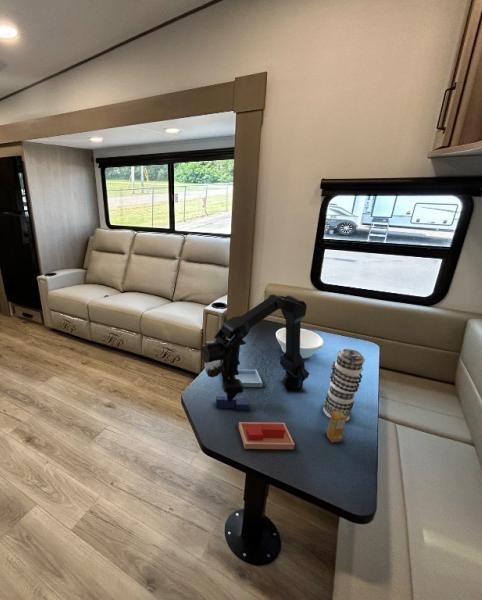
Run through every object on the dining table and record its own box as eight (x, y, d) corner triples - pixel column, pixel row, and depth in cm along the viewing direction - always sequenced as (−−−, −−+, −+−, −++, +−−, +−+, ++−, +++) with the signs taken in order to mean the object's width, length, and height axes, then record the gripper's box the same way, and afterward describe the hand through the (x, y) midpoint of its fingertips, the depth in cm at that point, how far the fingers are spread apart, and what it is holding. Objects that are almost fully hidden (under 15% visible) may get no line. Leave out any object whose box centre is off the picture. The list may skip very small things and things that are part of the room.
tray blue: (255, 373, 135) (256, 369, 135) (262, 387, 127) (262, 382, 126) (220, 373, 136) (220, 369, 135) (224, 386, 127) (224, 382, 126)
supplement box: (325, 435, 103) (331, 410, 100) (335, 434, 104) (341, 410, 100) (331, 443, 100) (337, 418, 97) (341, 442, 101) (348, 417, 97)
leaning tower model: (321, 401, 119) (335, 343, 110) (349, 408, 115) (366, 349, 106) (321, 417, 111) (336, 355, 102) (351, 425, 107) (369, 362, 98)
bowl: (323, 348, 155) (326, 333, 152) (317, 369, 139) (320, 353, 136) (279, 337, 166) (281, 323, 163) (268, 355, 149) (270, 340, 146)
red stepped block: (280, 432, 104) (282, 423, 102) (284, 441, 100) (286, 432, 99) (246, 431, 104) (247, 423, 103) (248, 440, 100) (250, 431, 99)
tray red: (283, 427, 106) (284, 422, 106) (293, 449, 98) (294, 444, 97) (238, 426, 107) (239, 422, 106) (244, 448, 98) (245, 443, 97)
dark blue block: (216, 409, 115) (217, 401, 113) (215, 402, 118) (215, 394, 117) (247, 409, 115) (249, 401, 113) (245, 402, 118) (246, 394, 117)
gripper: (203, 342, 117) (201, 377, 123) (210, 371, 100) (207, 410, 106) (233, 342, 117) (230, 377, 123) (245, 371, 100) (241, 411, 106)
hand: (226, 393), depth 114 cm, fingers open, 9 cm apart
